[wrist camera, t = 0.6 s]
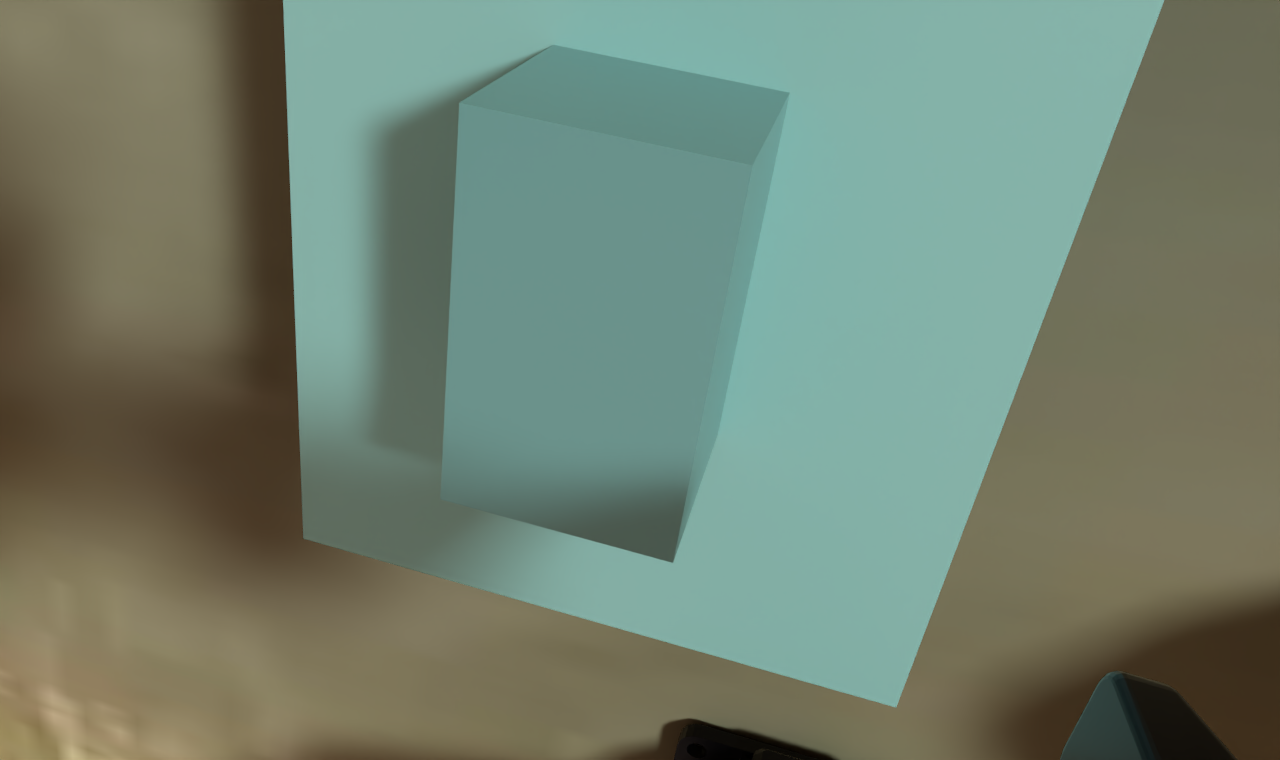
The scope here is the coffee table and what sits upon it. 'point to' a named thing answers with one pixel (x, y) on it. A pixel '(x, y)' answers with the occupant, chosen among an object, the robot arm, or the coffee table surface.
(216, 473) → the coffee table surface
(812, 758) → the robot arm
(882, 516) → the lid
